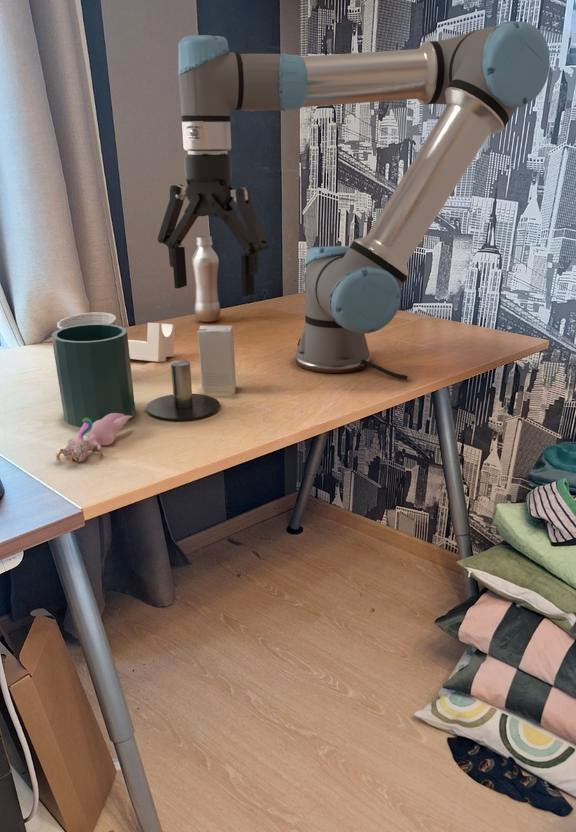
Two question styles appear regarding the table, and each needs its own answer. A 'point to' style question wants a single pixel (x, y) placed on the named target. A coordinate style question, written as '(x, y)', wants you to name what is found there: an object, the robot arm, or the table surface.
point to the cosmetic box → (217, 359)
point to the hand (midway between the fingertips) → (213, 290)
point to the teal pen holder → (93, 372)
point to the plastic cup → (87, 319)
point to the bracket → (154, 343)
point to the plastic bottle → (205, 280)
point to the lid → (182, 399)
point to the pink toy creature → (93, 436)
